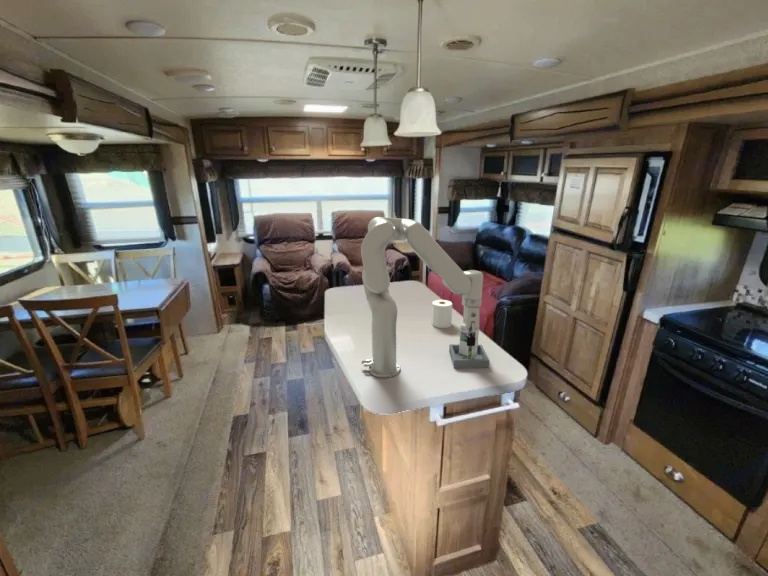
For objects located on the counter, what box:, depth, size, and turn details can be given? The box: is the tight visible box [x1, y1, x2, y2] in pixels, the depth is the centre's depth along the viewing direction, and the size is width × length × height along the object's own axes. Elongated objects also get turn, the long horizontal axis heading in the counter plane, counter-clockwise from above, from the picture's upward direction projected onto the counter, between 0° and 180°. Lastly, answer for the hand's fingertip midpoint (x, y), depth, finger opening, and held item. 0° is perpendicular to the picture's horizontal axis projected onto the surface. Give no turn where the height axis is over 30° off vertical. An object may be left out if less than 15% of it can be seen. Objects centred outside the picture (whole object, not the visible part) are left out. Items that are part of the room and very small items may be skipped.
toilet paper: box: [431, 299, 453, 329], centre depth 183 cm, size 10×10×12 cm
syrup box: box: [458, 323, 480, 359], centre depth 145 cm, size 6×6×14 cm
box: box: [448, 344, 490, 369], centre depth 147 cm, size 14×14×4 cm
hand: (468, 340), depth 145 cm, fingers closed on syrup box, 8 cm apart
